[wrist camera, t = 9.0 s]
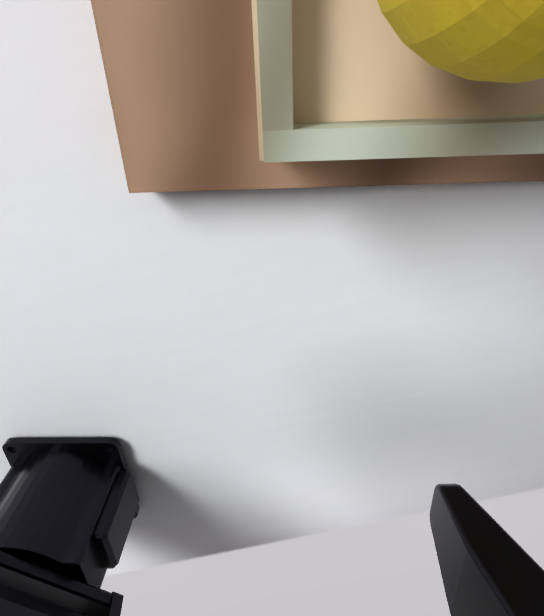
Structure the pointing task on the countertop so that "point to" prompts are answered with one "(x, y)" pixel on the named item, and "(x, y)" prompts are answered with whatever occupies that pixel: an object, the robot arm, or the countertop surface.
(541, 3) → the lemon
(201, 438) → the countertop surface
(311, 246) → the countertop surface
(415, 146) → the plinth
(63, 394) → the countertop surface
